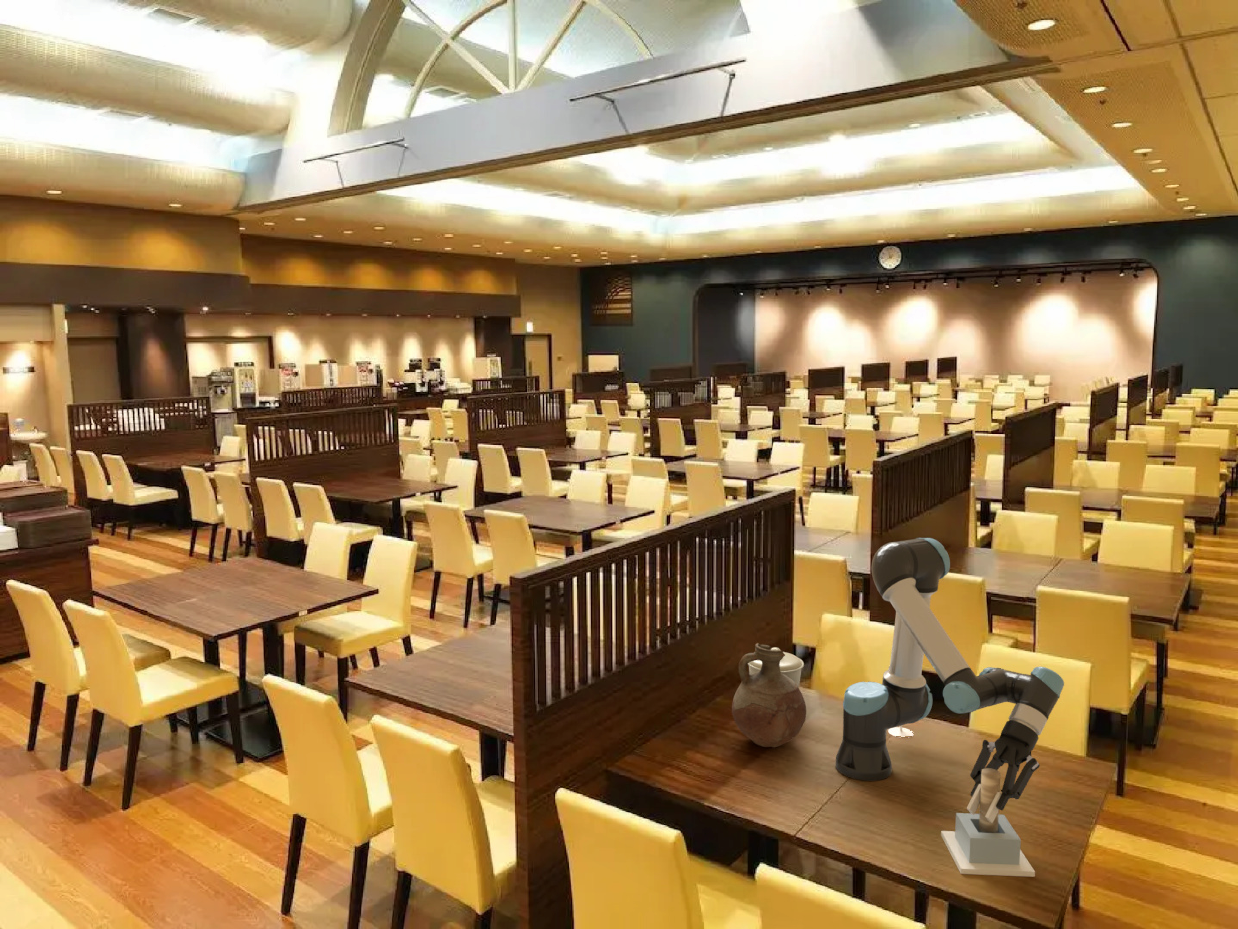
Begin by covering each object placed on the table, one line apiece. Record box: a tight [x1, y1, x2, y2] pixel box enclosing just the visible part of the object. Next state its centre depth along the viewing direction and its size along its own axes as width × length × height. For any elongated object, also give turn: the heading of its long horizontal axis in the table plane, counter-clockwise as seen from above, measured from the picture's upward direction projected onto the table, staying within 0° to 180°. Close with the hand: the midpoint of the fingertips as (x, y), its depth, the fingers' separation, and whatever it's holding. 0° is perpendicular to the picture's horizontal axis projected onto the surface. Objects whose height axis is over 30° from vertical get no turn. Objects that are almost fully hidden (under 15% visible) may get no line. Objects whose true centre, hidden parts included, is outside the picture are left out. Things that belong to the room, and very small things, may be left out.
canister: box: [747, 646, 805, 689], centre depth 291 cm, size 18×18×21 cm
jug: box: [731, 642, 807, 748], centre depth 267 cm, size 22×22×30 cm
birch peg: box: [979, 768, 1001, 833], centre depth 207 cm, size 4×4×14 cm
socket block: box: [940, 812, 1036, 877], centre depth 209 cm, size 16×16×7 cm
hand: (979, 815), depth 205 cm, fingers closed on birch peg, 4 cm apart
